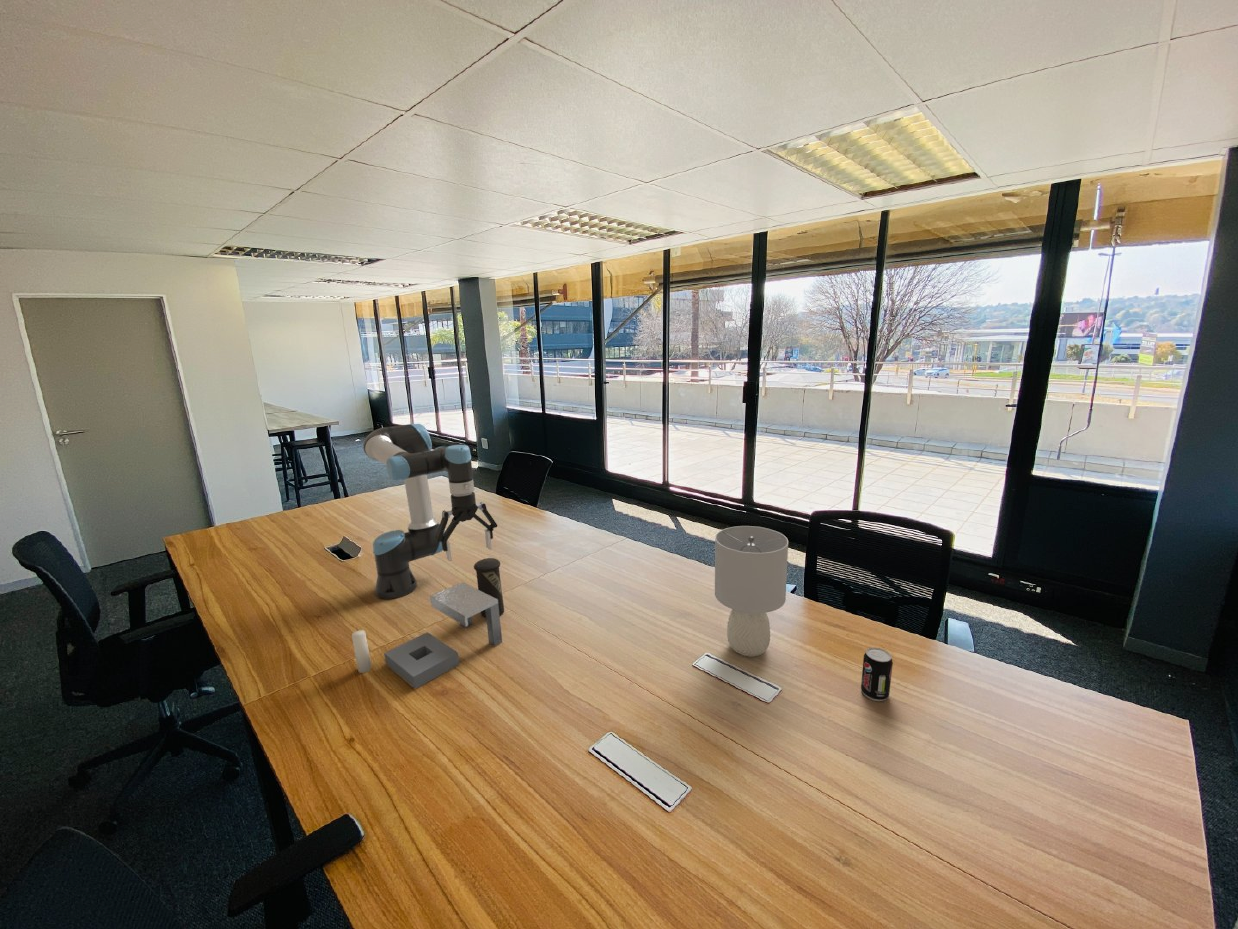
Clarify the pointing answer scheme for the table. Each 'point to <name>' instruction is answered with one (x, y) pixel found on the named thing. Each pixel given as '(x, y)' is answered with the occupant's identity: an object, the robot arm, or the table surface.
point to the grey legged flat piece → (469, 608)
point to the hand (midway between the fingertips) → (469, 553)
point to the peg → (361, 651)
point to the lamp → (750, 583)
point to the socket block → (421, 659)
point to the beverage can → (876, 674)
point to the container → (490, 580)
